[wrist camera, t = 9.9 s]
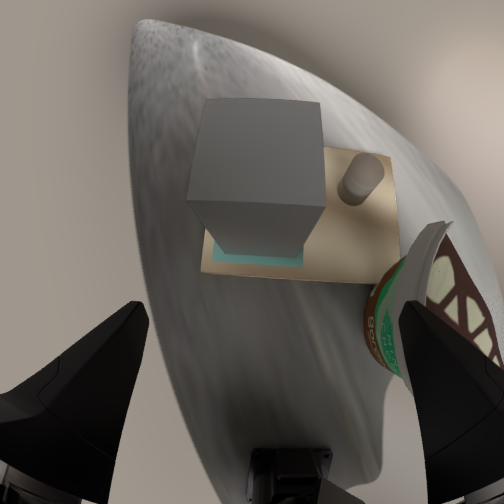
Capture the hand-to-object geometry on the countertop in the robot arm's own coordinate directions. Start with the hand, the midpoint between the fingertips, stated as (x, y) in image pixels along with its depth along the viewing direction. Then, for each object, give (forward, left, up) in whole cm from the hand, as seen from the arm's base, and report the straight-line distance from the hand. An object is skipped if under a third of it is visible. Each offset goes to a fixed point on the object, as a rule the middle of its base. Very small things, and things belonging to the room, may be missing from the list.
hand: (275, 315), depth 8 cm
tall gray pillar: (+6, +1, -10) cm, 12 cm away
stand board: (+8, -2, -11) cm, 14 cm away
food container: (-2, -10, -12) cm, 15 cm away
